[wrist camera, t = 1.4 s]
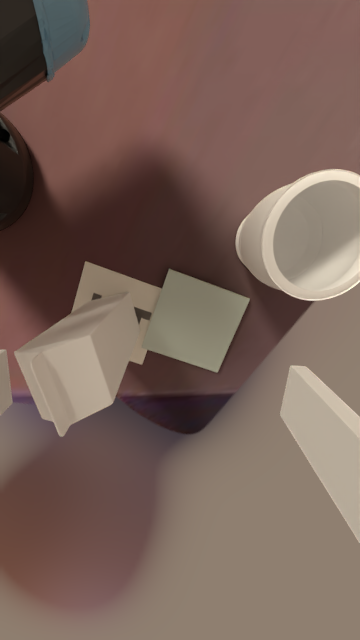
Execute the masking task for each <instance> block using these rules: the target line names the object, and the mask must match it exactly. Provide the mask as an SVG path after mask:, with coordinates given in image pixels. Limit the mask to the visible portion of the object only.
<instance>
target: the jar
mask: <svg viewBox="0 0 360 640" xmlns="http://www.w3.org/2000/svg"><path fill="white" fill-rule="evenodd" d="M235 246H236V252H237V255H238V257H239V259H240V260H241V262H242V263H243V264H244V265H245V266H246V267H247V268H248V269H249V271H250V272H251V273H252V274H253V275H254V276H255V277H256V278H257V279H258V280H259V281H261V282H262V283H264V284H266V285H268V286H270V287H272V288H275V289H278V290H282V291H284V292H285V293H287V294H289V295H291V296H293V297H295V298H298V299H302V300H309V301H318V300H325V299H330V298H333V297H336V296H338V295H341V294H343V293H345V292H346V291H348V290H350V289H351V288H353V287H354V286H355V285H357V284H358V283H359V282H360V175H358V174H356V173H354V172H351V171H347V170H342V169H327V170H321V171H317V172H314V173H311V174H308V175H306V176H304V177H302V178H300V179H298V180H297V181H295V182H294V183H292V184H289V185H286V186H284V187H282V188H280V189H278V190H276V191H274V192H272V193H271V194H269V195H268V196H266V197H265V198H264V199H263V200H262V201H261V202H259V203H258V205H257V206H256V207H255V208H254V209H253V210H252V212H251V213H250V214H249V215H248V216H247V217H246V218H245V219H244V220H243V221H242V223H241V225H240V226H239V229H238V231H237V234H236V241H235Z"/></svg>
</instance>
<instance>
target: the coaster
mask: <svg viewBox="0 0 360 640" xmlns="http://www.w3.org/2000/svg"><path fill="white" fill-rule="evenodd" d="M249 300H250V299H249V298H248V297H245V296H242V295H240V294H237V293H234V292H232V291H229V290H226V289H224V288H221V287H218V286H215V285H213V284H210V283H207V282H205V281H202V280H199V279H197V278H194V277H191V276H188V275H186V274H183V273H180V272H178V271H175V270H172V269H170V268H169V270H168V273H167V276H166V279H165V282H164V285H163V287H162V290H161V293H160V296H159V299H158V302H157V304H156V307H155V310H154V313H153V316H152V319H151V321H150V324H149V327H148V330H147V333H146V335H145V338H144V341H143V344H142V347H141V348H144V349H147V350H150V351H153V352H156V353H159V354H162V355H165V356H168V357H171V358H174V359H177V360H180V361H184V362H187V363H190V364H193V365H196V366H199V367H202V368H205V369H208V370H211V371H214V372H217V373H218V370H219V368H220V366H221V364H222V361H223V359H224V357H225V355H226V352H227V350H228V348H229V346H230V343H231V341H232V339H233V336H234V334H235V332H236V330H237V327H238V325H239V323H240V321H241V318H242V316H243V314H244V312H245V309H246V307H247V305H248V303H249Z"/></svg>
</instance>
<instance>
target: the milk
mask: <svg viewBox="0 0 360 640" xmlns="http://www.w3.org/2000/svg"><path fill="white" fill-rule="evenodd" d="M139 333H140V327H139V324H138V320H137V317H136V313H135V309H134V306H133V302H132V299H131V295H130V292H126V293H121V294H117V295H113V296H108V297H104V298H100V299H95V300H91V301H88V302H87V303H85V304H84V305H82V306H81V307H80V308H78V309H77V310H75V311H74V312H72V313H71V314H69V315H68V316H66V317H65V318H63V319H62V320H60V321H59V322H58V323H56V324H55V325H53V326H52V327H50V328H49V329H47V330H46V331H44V332H43V333H41V334H40V335H38V336H37V337H35V338H34V339H33V340H31V341H30V342H28V343H27V344H25V345H24V346H22V347H21V348H19V349H18V350H16V351H15V352H14V354H15V357H16V359H17V361H18V364H19V366H20V368H21V371H22V373H23V375H24V378H25V380H26V382H27V385H28V387H29V389H30V392H31V394H32V396H33V399H34V401H35V403H36V406H37V408H38V410H39V413H40V415H41V417H42V419H44V420H49V421H53V422H54V424H55V427H56V429H57V431H58V434H59V436H60V437H62V436H64V435H65V433H66V432H67V430H68V428H69V426H70V425H71V424H73V423H75V422H77V421H79V420H81V419H83V418H85V417H87V416H89V415H91V414H93V413H95V412H97V411H99V410H101V409H103V408H105V407H107V406H109V405H111V404H113V402H114V399H115V397H116V394H117V391H118V389H119V386H120V383H121V381H122V378H123V375H124V373H125V370H126V367H127V365H128V362H129V359H130V357H131V354H132V352H133V349H134V346H135V344H136V341H137V338H138V336H139Z"/></svg>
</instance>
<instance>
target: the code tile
mask: <svg viewBox="0 0 360 640" xmlns="http://www.w3.org/2000/svg"><path fill="white" fill-rule="evenodd" d="M161 290H162V288H159V287H156V286H153V285H151V284H148V283H145V282H142V281H140V280H137V279H134V278H131V277H128V276H126V275H123V274H120V273H117V272H115V271H112V270H109V269H106V268H103V267H101V266H98V265H95V264H92V263H90V262H87V261H85V264H84V268H83V272H82V275H81V279H80V283H79V286H78V290H77V294H76V298H75V301H74V305H73V309H72V312H74V311H75V310H77V309H78V308H80V307H81V306H82V305H84V304H85V303H87V302H88V301H91V300H95V299H100V298H104V297H108V296H113V295H117V294H121V293H126V292H130V295H131V299H132V302H133V306H134V309H135V313H136V317H137V320H138V324H139V327H140V333H139V336H138V338H137V341H136V344H135V346H134V349H133V352H132V354H131V357H130V359H129V361H132V362H135V363H138V364H141V365H142V364H143V361H144V358H145V356H146V353H147V349H144V348H141V347H142V344H143V341H144V338H145V335H146V333H147V330H148V327H149V324H150V321H151V319H152V316H153V313H154V310H155V307H156V304H157V302H158V299H159V296H160V293H161ZM72 312H71V313H72Z"/></svg>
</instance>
